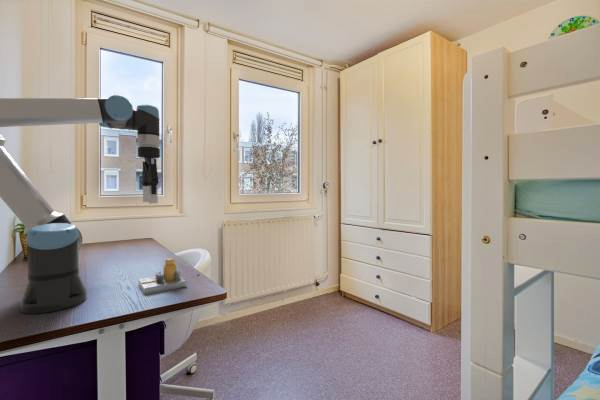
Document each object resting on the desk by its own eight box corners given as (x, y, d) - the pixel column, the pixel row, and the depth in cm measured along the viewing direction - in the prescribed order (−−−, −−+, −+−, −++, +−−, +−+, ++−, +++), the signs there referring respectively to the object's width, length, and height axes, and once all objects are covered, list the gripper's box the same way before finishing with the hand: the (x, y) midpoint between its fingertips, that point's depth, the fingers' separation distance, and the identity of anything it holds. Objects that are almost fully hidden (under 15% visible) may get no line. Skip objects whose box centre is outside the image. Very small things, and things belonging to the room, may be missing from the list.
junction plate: (144, 294, 95) (144, 280, 95) (138, 284, 104) (138, 272, 104) (186, 286, 102) (185, 273, 102) (177, 278, 112) (176, 266, 112)
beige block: (165, 281, 102) (165, 261, 102) (162, 278, 105) (161, 259, 105) (178, 279, 104) (177, 259, 104) (174, 276, 108) (174, 257, 107)
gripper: (166, 144, 105) (168, 203, 105) (153, 151, 125) (154, 201, 125) (143, 142, 100) (144, 204, 101) (133, 150, 120) (134, 202, 121)
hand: (150, 202), depth 113 cm, fingers open, 13 cm apart
